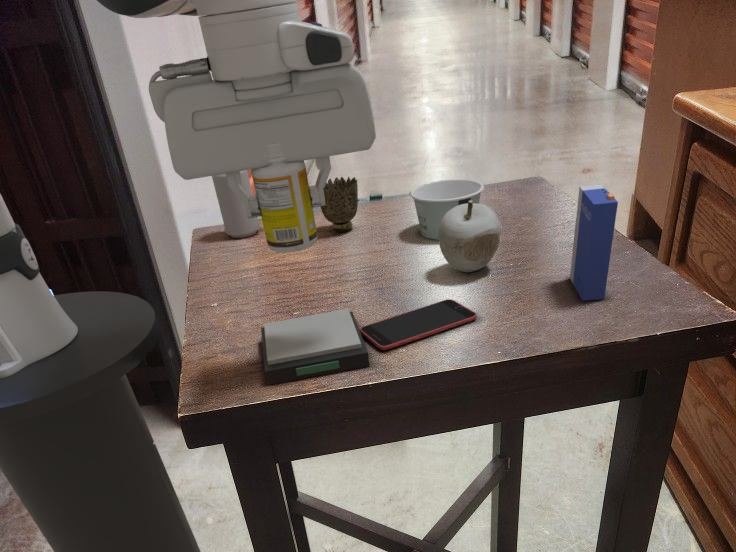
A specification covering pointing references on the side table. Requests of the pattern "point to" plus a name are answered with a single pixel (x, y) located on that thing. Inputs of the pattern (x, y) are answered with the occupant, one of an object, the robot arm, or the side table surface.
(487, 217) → the decorative object
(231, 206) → the beverage can
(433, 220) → the food container
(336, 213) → the cup
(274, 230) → the supplement bottle
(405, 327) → the smartphone
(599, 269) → the walkman
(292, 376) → the scale
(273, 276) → the side table surface
